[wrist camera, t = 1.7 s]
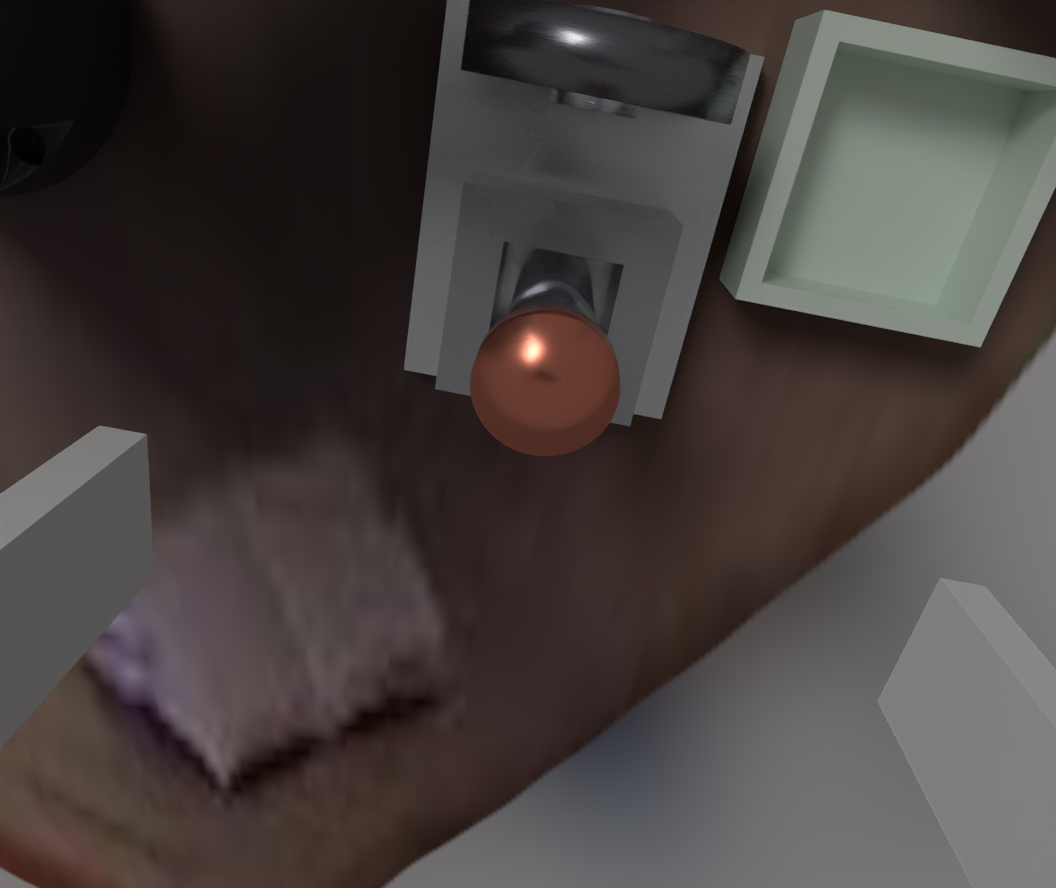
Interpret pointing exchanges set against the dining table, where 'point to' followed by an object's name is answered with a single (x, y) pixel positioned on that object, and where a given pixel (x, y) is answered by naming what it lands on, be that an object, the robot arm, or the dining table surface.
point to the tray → (895, 178)
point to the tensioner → (574, 178)
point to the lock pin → (547, 363)
